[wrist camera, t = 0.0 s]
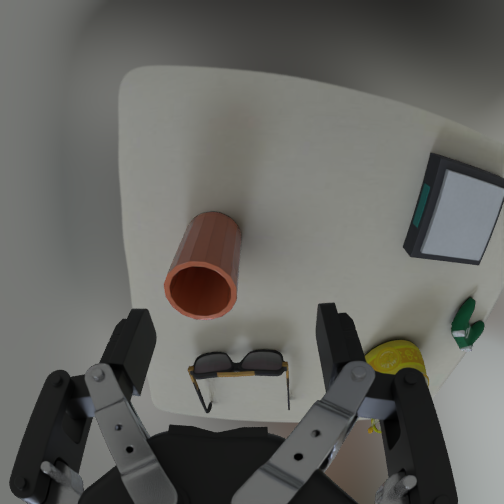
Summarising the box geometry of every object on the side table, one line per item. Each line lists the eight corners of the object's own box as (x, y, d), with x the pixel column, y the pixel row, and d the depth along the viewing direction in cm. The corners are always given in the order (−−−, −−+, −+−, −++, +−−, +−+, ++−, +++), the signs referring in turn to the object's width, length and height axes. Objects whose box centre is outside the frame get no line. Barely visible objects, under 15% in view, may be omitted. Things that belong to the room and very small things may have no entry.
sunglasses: (210, 403, 52) (208, 426, 47) (189, 348, 44) (184, 374, 40) (289, 399, 51) (290, 423, 46) (286, 342, 43) (288, 369, 39)
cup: (174, 236, 35) (150, 290, 26) (212, 200, 33) (196, 247, 24) (214, 270, 37) (203, 330, 28) (253, 238, 35) (252, 294, 26)
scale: (401, 246, 35) (411, 259, 33) (429, 152, 29) (443, 159, 27) (470, 256, 36) (481, 267, 33) (499, 175, 30) (512, 183, 27)
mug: (412, 323, 42) (441, 385, 31) (419, 361, 46) (442, 417, 36) (334, 356, 45) (348, 423, 34) (353, 389, 50) (365, 447, 39)
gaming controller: (454, 295, 41) (444, 329, 39) (475, 295, 38) (466, 331, 36) (468, 323, 45) (458, 354, 43) (486, 324, 41) (477, 356, 39)
